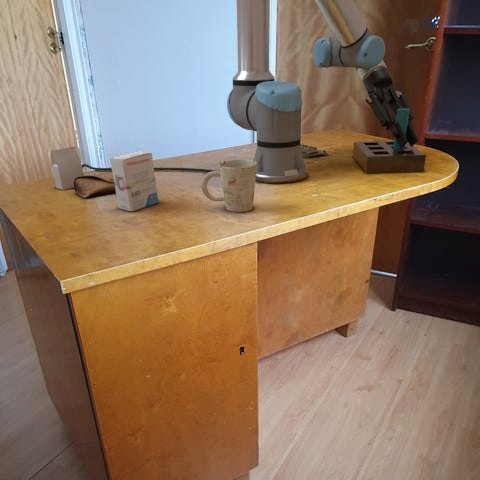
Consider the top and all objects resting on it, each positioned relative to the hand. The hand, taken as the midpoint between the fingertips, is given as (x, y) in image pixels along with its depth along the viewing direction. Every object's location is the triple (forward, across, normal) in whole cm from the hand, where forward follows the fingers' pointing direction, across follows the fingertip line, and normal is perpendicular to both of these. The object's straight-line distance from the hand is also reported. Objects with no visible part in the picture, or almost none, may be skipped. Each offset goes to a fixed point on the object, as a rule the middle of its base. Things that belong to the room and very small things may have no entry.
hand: (409, 144), depth 139 cm
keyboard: (-21, -13, +30) cm, 39 cm away
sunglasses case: (-13, -79, +23) cm, 83 cm away
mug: (+10, -61, 0) cm, 62 cm away
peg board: (0, -3, +8) cm, 9 cm away
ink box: (0, -78, +10) cm, 79 cm away
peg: (0, 0, +6) cm, 6 cm away
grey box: (-21, -88, +30) cm, 95 cm away
